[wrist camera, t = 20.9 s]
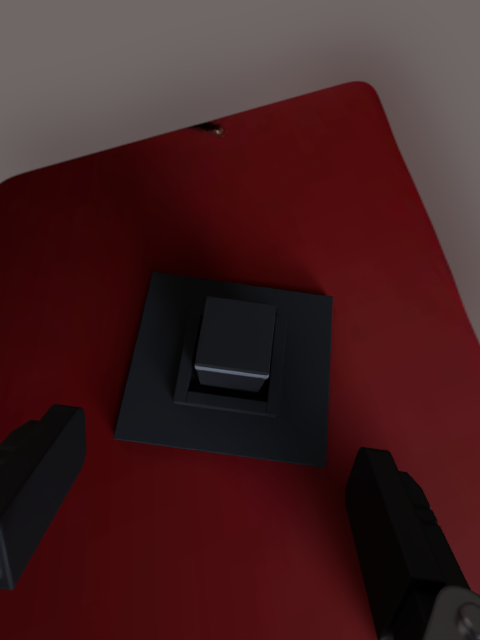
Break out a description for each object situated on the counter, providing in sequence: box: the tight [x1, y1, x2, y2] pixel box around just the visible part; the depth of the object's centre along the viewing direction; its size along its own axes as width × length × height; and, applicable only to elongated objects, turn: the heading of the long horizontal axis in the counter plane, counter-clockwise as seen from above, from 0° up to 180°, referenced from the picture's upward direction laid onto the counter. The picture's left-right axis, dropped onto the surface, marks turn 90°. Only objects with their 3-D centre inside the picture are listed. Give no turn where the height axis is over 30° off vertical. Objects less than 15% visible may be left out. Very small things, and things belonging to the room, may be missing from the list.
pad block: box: [195, 296, 276, 394], centre depth 28 cm, size 5×5×8 cm
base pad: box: [113, 272, 333, 468], centre depth 32 cm, size 17×15×2 cm
